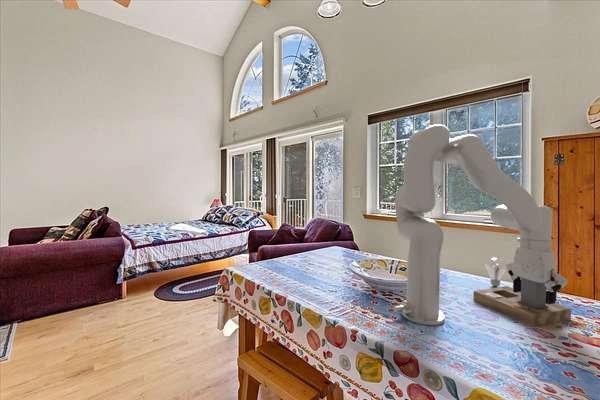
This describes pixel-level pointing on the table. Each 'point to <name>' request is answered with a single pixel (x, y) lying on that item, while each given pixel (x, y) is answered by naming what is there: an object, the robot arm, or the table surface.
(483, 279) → the table surface
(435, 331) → the table surface
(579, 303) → the table surface
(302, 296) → the table surface
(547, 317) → the socket block
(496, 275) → the light bulb
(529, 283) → the plug
